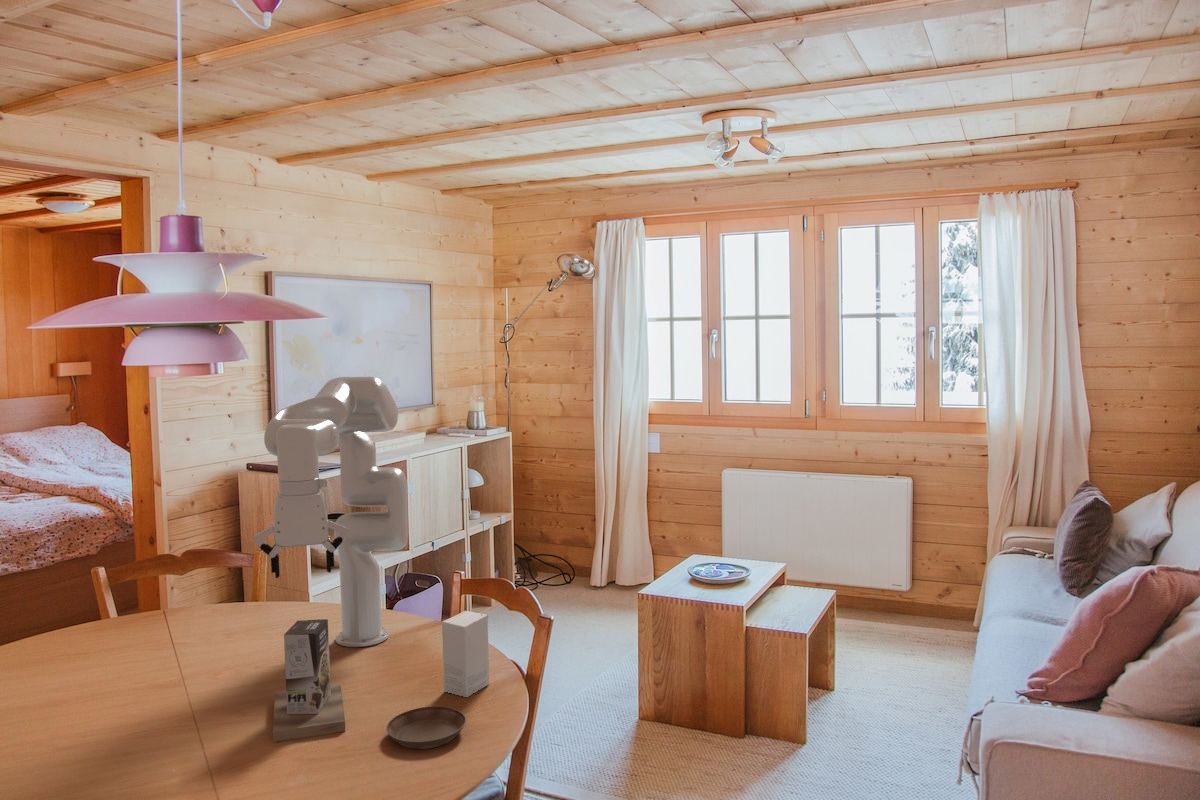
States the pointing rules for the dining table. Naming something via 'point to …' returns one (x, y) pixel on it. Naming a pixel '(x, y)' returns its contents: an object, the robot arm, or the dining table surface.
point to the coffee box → (307, 666)
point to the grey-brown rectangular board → (308, 718)
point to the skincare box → (465, 653)
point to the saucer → (426, 727)
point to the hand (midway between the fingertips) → (303, 573)
